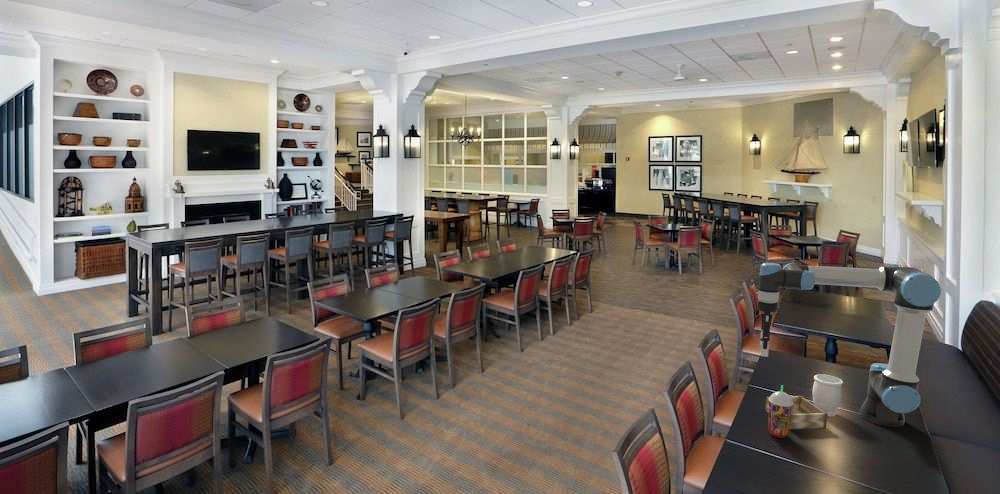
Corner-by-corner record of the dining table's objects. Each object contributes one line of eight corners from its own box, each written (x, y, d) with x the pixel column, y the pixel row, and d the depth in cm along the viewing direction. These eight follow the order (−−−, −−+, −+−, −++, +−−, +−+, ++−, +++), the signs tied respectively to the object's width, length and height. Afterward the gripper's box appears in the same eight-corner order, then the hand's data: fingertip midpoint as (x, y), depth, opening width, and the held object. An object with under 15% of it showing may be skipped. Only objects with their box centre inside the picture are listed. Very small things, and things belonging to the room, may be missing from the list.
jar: (843, 419, 223) (847, 384, 221) (815, 416, 225) (819, 382, 223) (833, 408, 233) (836, 375, 231) (806, 405, 235) (810, 372, 233)
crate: (799, 409, 232) (801, 395, 231) (826, 428, 215) (827, 413, 214) (764, 410, 230) (766, 396, 229) (788, 429, 214) (790, 414, 213)
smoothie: (780, 441, 204) (785, 391, 201) (760, 431, 212) (765, 383, 209) (794, 436, 208) (799, 387, 205) (774, 427, 216) (779, 379, 213)
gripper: (757, 293, 234) (753, 340, 237) (758, 307, 211) (753, 359, 214) (776, 295, 231) (772, 343, 234) (779, 309, 208) (775, 362, 211)
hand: (763, 351), depth 224 cm, fingers open, 13 cm apart
